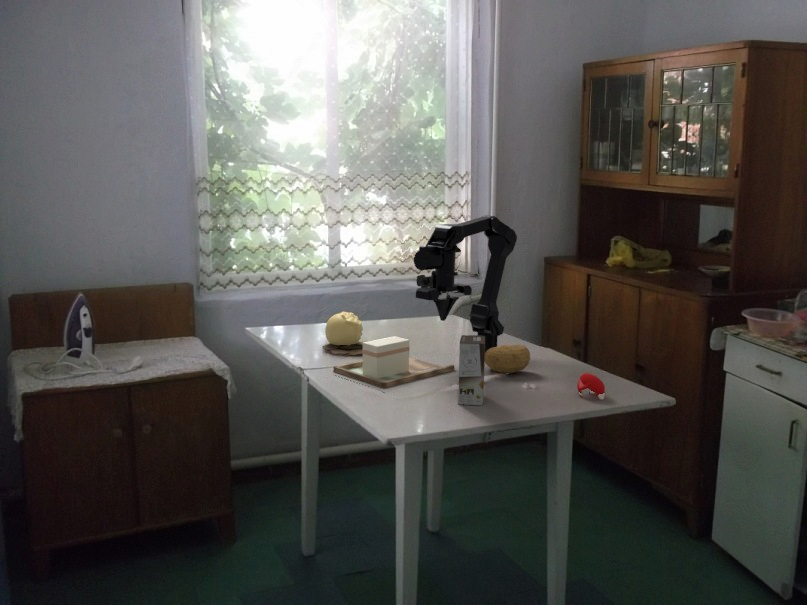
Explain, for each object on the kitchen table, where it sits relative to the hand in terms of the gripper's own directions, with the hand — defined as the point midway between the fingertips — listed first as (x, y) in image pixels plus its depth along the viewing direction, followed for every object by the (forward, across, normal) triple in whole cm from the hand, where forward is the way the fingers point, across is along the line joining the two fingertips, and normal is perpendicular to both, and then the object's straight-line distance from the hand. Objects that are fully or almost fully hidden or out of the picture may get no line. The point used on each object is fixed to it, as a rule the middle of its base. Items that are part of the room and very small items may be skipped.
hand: (442, 320), depth 247 cm
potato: (+13, -6, +20) cm, 24 cm away
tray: (+14, +18, 0) cm, 23 cm away
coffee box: (+14, +20, +29) cm, 38 cm away
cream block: (+12, +22, -1) cm, 25 cm away
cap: (+13, -5, +49) cm, 51 cm away
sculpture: (+13, +6, -37) cm, 40 cm away
